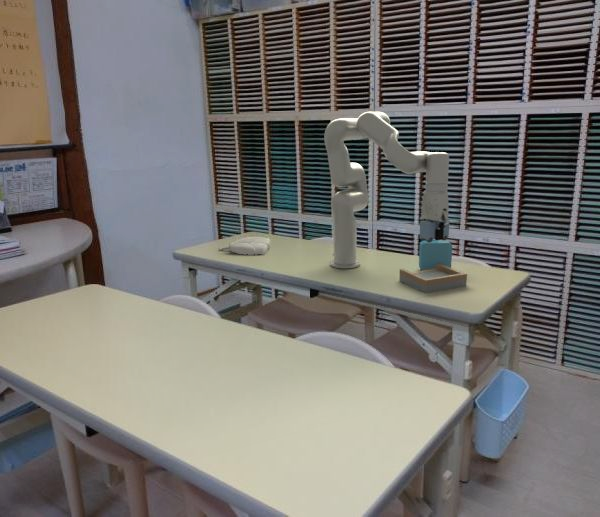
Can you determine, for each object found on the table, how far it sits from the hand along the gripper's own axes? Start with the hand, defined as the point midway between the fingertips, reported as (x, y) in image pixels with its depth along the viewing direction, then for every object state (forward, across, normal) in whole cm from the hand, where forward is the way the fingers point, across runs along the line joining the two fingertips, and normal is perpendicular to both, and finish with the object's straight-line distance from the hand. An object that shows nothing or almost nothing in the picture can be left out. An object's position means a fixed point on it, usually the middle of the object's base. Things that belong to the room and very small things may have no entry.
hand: (434, 237), depth 180 cm
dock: (+17, 0, 0) cm, 17 cm away
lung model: (+18, -82, -49) cm, 97 cm away
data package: (+18, -13, +11) cm, 24 cm away
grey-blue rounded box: (+1, 0, 0) cm, 1 cm away
